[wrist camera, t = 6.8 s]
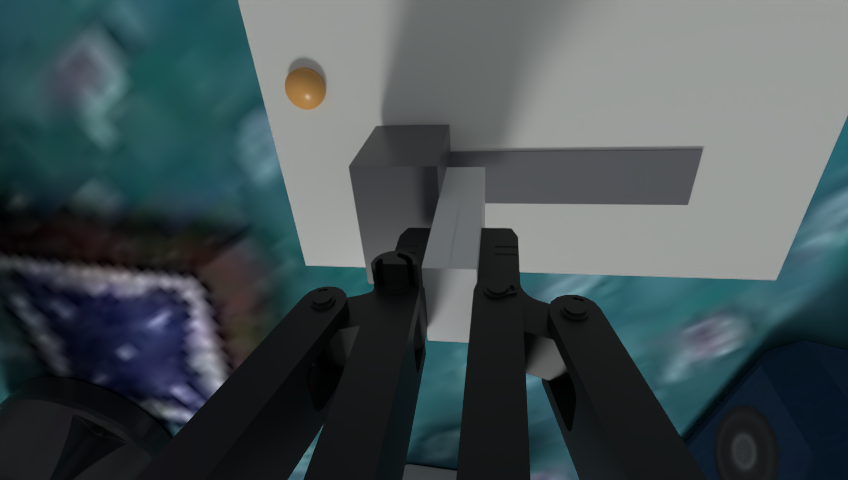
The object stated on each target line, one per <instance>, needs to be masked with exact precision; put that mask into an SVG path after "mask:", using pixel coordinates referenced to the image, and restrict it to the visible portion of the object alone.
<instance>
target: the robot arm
mask: <svg viewBox="0 0 848 480" xmlns="http://www.w3.org/2000/svg"><path fill="white" fill-rule="evenodd" d="M371 269H372V275H373V281H374V289H373V291H372V292H369V293H367V294H363V295H359V296H354V297H348V298H347V297H346V294H345V293H344V291H343V290H341V289H339V288H336V287H322V288H317V289H315V290H313V291H311V292H309V293H308V294H306V295H305V296H304V297H303V298H302V299H301V300H300V301H299V302H298V303H297V304H296V306H295V307H294V308H293V309H292V310H291V311H290V312H289V313H288V314H287V315H286V316H285V317H284V318H283V320H282V321H281V322H280V323H279V324H278V325H277V326H276V327H275V328H274V329H273V330H272V331H271V333H270V334H269V335H268V336H267V337H266V338H265V339H264V340H263V341H262V342H261V343H260V344H259V346H258V347H257V348H256V349H255V350H254V351H253V352H252V353H251V354H250V355H249V356H248V357H247V359H246V360H245V361H244V362H243V363H242V364H241V365H240V366H239V367H238V368H237V369H236V370H235V371H234V373H233V374H232V375H231V376H230V377H229V378H228V379H227V380H226V381H225V382H224V383H223V384H222V386H221V387H220V388H219V389H218V390H217V391H216V392H215V393H214V394H213V395H212V396H211V397H210V399H209V400H208V401H207V402H206V403H205V404H204V405H203V406H202V407H201V408H200V409H199V410H198V412H197V413H196V414H195V415H194V416H193V417H192V418H191V419H190V420H189V421H188V422H187V423H186V424H185V426H184V427H183V428H182V429H181V430H180V431H179V432H178V433H177V434H176V435H175V436H174V437H173V439H171V438H170V436H169V435H168V434H167V432H166V431H165V430H164V429H163V428H162V427H161V426H160V425H159V424H158V423H157V422H156V421H155V420H154V419H153V418H152V417H150V416H149V415H148V414H147V413H145V412H144V411H143V410H141V409H140V408H138V407H137V406H135V405H134V404H132V403H130V402H129V401H127V400H125V399H123V398H122V397H120V396H118V395H116V394H114V393H111V392H109V391H107V390H105V389H102V388H100V387H97V386H94V385H91V384H88V383H85V382H81V381H77V380H73V379H68V378H60V377H39V378H34V379H30V380H28V381H26V382H24V383H23V384H21V385H20V386H19V387H18V388H17V389H16V390H15V391H14V392H13V393H12V394H11V395H9V396H8V397H7V398H6V399H5V400H4V401H3V402H2V403H1V404H0V480H288V478H289V477H290V475H291V473H292V472H293V470H294V469H295V467H296V466H297V464H298V463H299V461H300V460H301V458H302V457H303V455H304V453H305V452H306V450H307V449H308V447H309V446H310V444H311V443H312V441H313V440H314V438H315V437H316V435H317V433H318V432H319V430H320V429H321V427H322V426H323V428H322V431H321V433H320V436H319V439H318V442H317V444H316V447H315V450H314V452H313V455H312V458H311V461H310V463H309V466H308V469H307V472H306V474H305V477H304V480H402V479H403V474H404V468H405V463H406V458H407V452H408V447H409V441H410V436H411V431H412V425H413V420H414V415H415V409H416V404H417V398H418V393H419V388H420V382H421V377H422V371H423V366H424V361H425V355H426V350H425V337H426V332H427V336H428V340H430V341H448V342H466V343H469V345H468V356H467V367H466V378H465V389H464V400H463V411H462V422H461V432H460V443H459V454H458V465H457V476H456V480H530V462H529V439H528V417H527V394H526V373H528V374H531V375H534V376H537V377H540V378H542V384H543V386H544V389H545V391H546V394H547V396H548V399H549V402H550V404H551V407H552V409H553V412H554V415H555V417H556V420H557V422H558V425H559V428H560V430H561V433H562V435H563V438H564V440H565V443H566V446H567V448H568V451H569V453H570V456H571V459H572V461H573V464H574V466H575V469H576V472H577V474H578V477H579V479H580V480H707V478H706V477H705V475H704V474H703V472H702V470H701V469H700V467H699V466H698V464H697V462H696V461H695V459H694V458H693V456H692V454H691V453H690V451H689V450H688V448H687V446H686V445H685V443H684V442H683V440H682V438H681V437H680V435H679V434H678V432H677V430H676V429H675V427H674V426H673V424H672V422H671V421H670V419H669V418H668V416H667V414H666V413H665V411H664V410H663V408H662V406H661V405H660V403H659V402H658V400H657V398H656V397H655V395H654V394H653V392H652V390H651V389H650V387H649V386H648V384H647V382H646V381H645V379H644V378H643V376H642V374H641V373H640V371H639V370H638V368H637V366H636V365H635V363H634V362H633V360H632V358H631V357H630V355H629V354H628V352H627V350H626V349H625V347H624V346H623V344H622V342H621V341H620V339H619V338H618V336H617V334H616V333H615V331H614V330H613V328H612V326H611V325H610V323H609V322H608V320H607V318H606V317H605V315H604V314H603V312H602V310H601V309H600V308H599V307H598V306H597V305H596V303H595V302H593V301H591V300H589V299H587V298H585V297H582V296H578V295H564V296H560V297H557V298H556V299H554V300H553V301H551V303H550V304H548V303H545V302H541V301H538V300H535V299H533V298H532V297H530V296H528V295H527V294H526V293H525V292H524V291H523V289H522V288H521V285H520V271H519V248H518V236H517V235H516V234H515V232H514V231H513V230H512V229H511V228H485V167H447V169H446V173H445V177H444V181H443V185H442V189H441V193H440V197H439V200H438V204H437V208H436V212H435V216H434V220H433V224H432V228H408V229H407V230H405V231H404V232H403V233H402V234H401V235H400V237H399V240H398V243H397V246H396V248H395V251H389V252H386V253H383V254H380V255H379V256H377V257H376V258H374V260H373V261H372V262H371ZM323 424H324V425H323Z"/></svg>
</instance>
